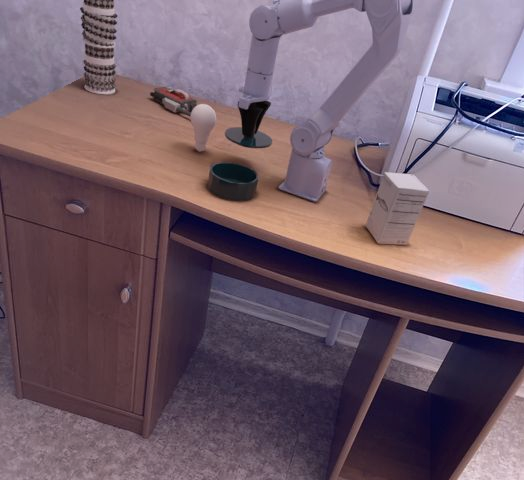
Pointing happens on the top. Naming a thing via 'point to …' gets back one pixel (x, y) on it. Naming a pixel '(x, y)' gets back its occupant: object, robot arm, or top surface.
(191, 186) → the top surface
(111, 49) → the decorative candle
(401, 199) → the white packaging box
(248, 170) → the dark bowl
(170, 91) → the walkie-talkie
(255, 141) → the pan lid
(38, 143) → the top surface
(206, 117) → the lightbulb
